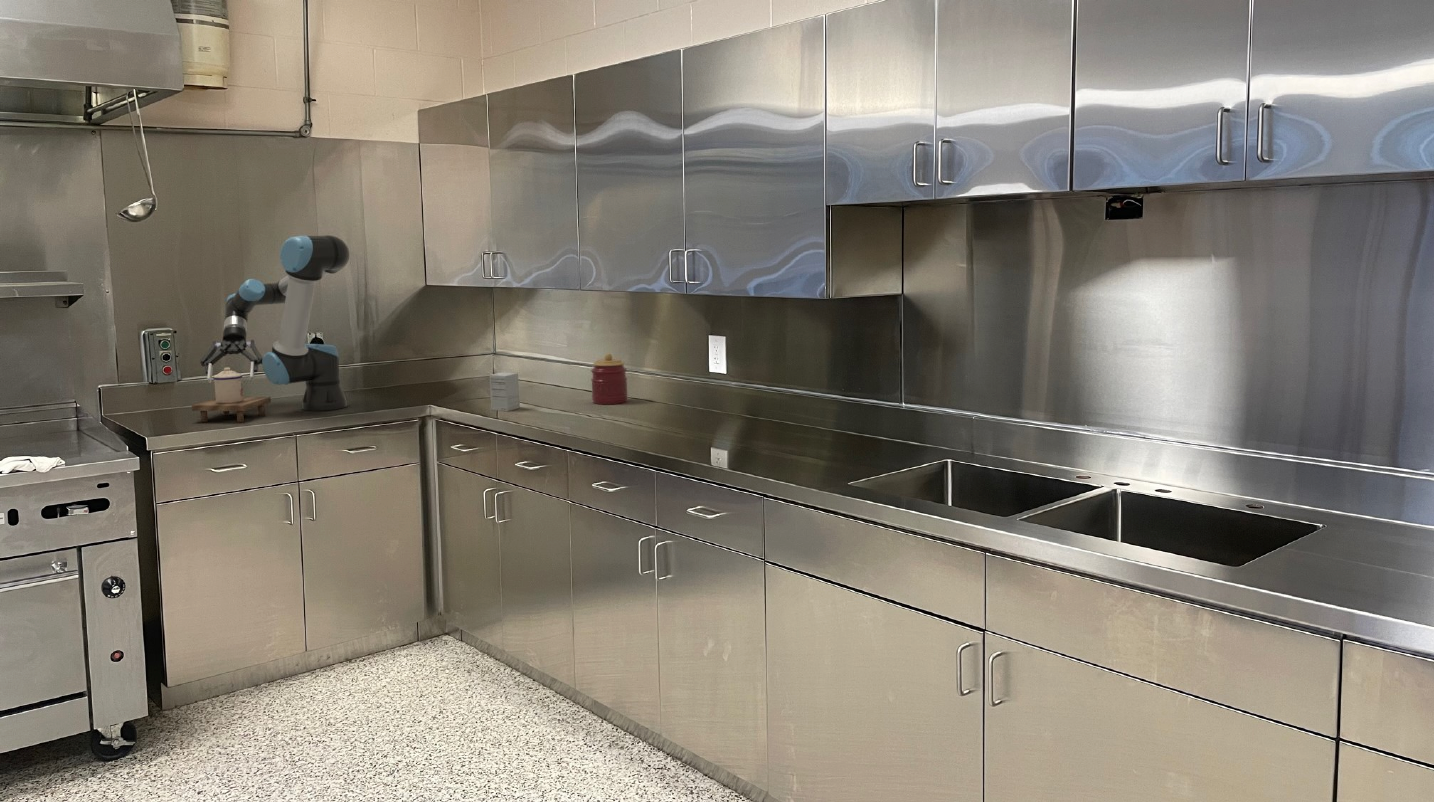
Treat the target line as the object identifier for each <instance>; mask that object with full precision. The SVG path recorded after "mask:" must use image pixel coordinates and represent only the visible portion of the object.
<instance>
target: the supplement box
mask: <svg viewBox="0 0 1434 802" xmlns="http://www.w3.org/2000/svg"><path fill="white" fill-rule="evenodd" d="M519 387H520V386H519V373H517V372H502V371H501V372H498V373H493V374H489V394H490V409H491V411H497V412H498V411H499V412H510V411H513V410H517V409H520V407H521V405H520V388H519Z"/></svg>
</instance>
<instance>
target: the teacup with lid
mask: <svg viewBox="0 0 1434 802" xmlns="http://www.w3.org/2000/svg"><path fill="white" fill-rule="evenodd" d="M212 380H213V381H214V382H213V384H214V393H215V399H216V402H217V403H223V404H225V403H237V402H241V401H243V400H244V397H245V396H244V386H243V375H242V373H239V372H236V371H234V370H231V368H230V367H224V368H223V370H222V371H220V372H219V373H217V374H214V375H213V377H212Z"/></svg>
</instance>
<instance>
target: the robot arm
mask: <svg viewBox="0 0 1434 802" xmlns="http://www.w3.org/2000/svg"><path fill="white" fill-rule="evenodd" d="M279 258H280V260H281V261H280V264H281V265H282V268H283V269H284V270H285V271H284V272H285V274H286V276H284V277H283V278H281V279H280V280H278V281H277V282H271V283H263V282H261V281H260V280H257V279H255V278H249V279H247V280H245V281H244V282H243V284H241V285H240V287H239V288H238V290H237V291H236V293H232V294H230V295H228V296H227V297H226V302H225V310H224V311H225V312H224V321H223V332H222V341H221V342H217V341H216V340H214V341H212V342H211V346H210V347H209V348H208V350H207V351H206V352H205V354H204V355H203V356H202V357H201V359H200V360H199V362H200V365H201V367H204V368H205V369H204V372H205V374H206V375H207V376H206V377H207V381H208V384H212V381H213V371H214V368H213V365H215V364H216V363H218V361H220V360H221V359H222V358H223V357H226V356H227V355H239V354H241V355H242V356H244V357H245V358H246V359H247V360H249V362H250V373H249V378H250V381H251V382H254V381H255V373H258V371H259V365H261V367H262V370H263V372H264V374H265V376H266V378H267V380H268V381H269V382H270V383H272V384H273V385H277V386H281V385H284V386H287V385H291V384H297V383H302V382H305V390H304V393H303V394H304V395H303V398H302V403H301V405H302V407H301V408H302V410H303V411H310V412H311V411H312V412H313V411H314V412H323V411H331V410H333V411H334V410H339V409H344V408H346V407H348V402H347V399H346V395H345V394H344V393H345V392H344V390H343V388H342V386H341V379H340V375H341V374H340V365H339V364H340V363H339V359H340V358H339V357H340V356H339V353H338V348H337V347H336V345H333V344H320V343H319V344H318V343H306V339H307V334H308V328H309V323H310V317H311V314H312V307H313V302H314V297H315V290H316V284H317V283H318V282H319V281H322V279H324V278H325V277H326V276H327V275H329V274H330V275H332V274H336V273H338V272H340V271H341V270H343V268H345V267H346V266H347V264H348V263H349V261H350V250H349V247H348V245H347V244H346V243H345V241H344V240H342V238H339V237H337V236H335V235H328V234H327V235H298V236H291V237H289V238H288V239H286V240H285V241H284V242H283V243H282V246H281V248H280V253H279ZM279 304H284V306H283V311H282V318H281V323H280V329H279V335H278V340H276V341H274V342H273V343H272V348H271V351H268V352H266V353H265V354H263V356H262V354H261V353H260V351H259V350H258V348H257V346H256V343H255V340H254V339H251V340H250V341H247V331H248V319H249V314H250V313H251V311H253V309H254V308H255V307H256V306H266V305H279ZM247 347H248V348H250V349H251V350H252V351H253V353H254V355H255V356H254V355H253V354H252V353H251V352H249V351H248V350H247V349H246V348H247Z"/></svg>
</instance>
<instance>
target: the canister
mask: <svg viewBox="0 0 1434 802" xmlns="http://www.w3.org/2000/svg"><path fill="white" fill-rule="evenodd" d="M592 365H593V368H591V369H590V372H591V373H592V378H591V379H590V380H591V381H590V382H591V392H592V393H591V394H592V395H591V400H592V403H594V404H597V405H619V404H624V403H626V402H628V398H629V396H628V395H629V394H628V377H627V374H626V372H627V370H628V369H627V368H626V367H625V366H624V365H625V362H624V361H623V360H621V359H619V358H613V355H612V354H611V353H606V354H605V356H604V358H601V359H597V360H595V362H593V363H592Z"/></svg>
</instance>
